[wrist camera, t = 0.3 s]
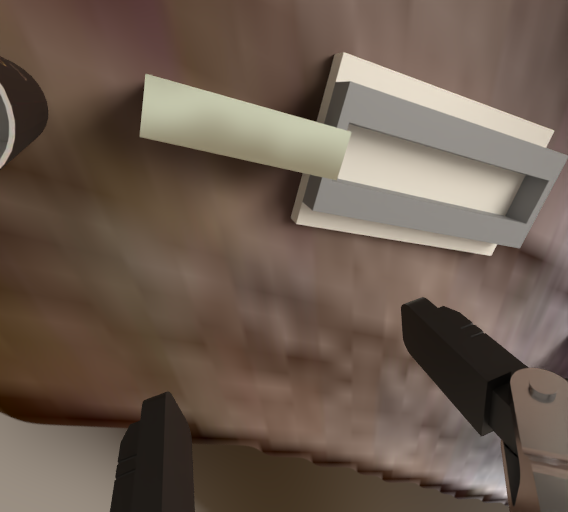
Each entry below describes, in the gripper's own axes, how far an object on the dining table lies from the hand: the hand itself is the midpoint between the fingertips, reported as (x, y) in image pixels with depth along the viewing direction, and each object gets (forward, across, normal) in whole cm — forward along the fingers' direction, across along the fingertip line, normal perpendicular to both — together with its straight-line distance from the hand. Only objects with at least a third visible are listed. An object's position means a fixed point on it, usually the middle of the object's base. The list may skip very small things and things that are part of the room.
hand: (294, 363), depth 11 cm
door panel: (+26, -3, -4) cm, 27 cm away
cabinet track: (+26, -22, +6) cm, 35 cm away
